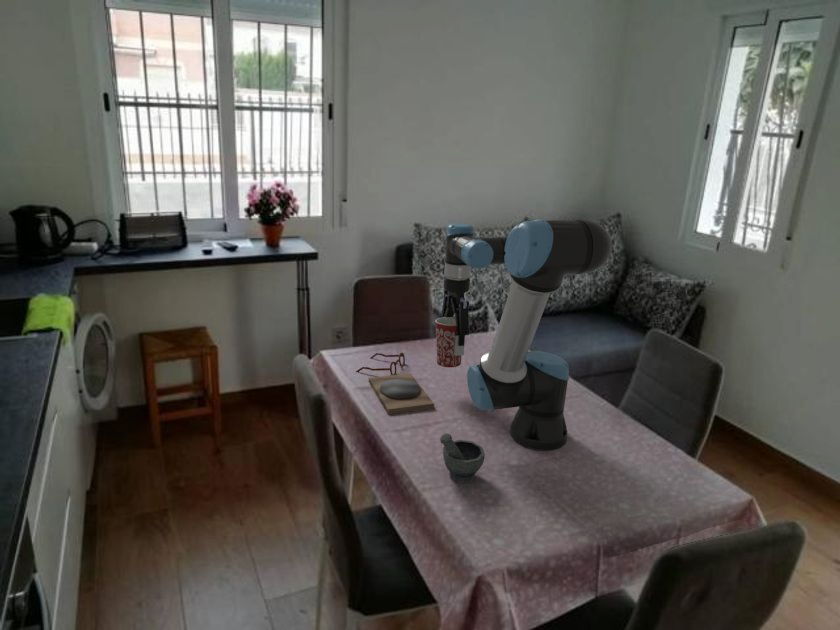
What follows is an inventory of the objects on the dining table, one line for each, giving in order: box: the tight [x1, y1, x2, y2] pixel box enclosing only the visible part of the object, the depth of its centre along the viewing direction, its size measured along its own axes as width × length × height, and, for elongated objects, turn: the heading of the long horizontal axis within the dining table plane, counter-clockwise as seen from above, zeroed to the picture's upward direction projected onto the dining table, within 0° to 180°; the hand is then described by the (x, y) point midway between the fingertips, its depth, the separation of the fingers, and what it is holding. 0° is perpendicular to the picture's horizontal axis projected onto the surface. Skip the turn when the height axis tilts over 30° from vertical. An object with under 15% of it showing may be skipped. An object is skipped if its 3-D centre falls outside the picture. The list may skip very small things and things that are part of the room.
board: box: [368, 372, 435, 415], centre depth 183 cm, size 22×14×2 cm, turn 19°
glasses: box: [356, 352, 406, 375], centre depth 202 cm, size 13×13×5 cm
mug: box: [435, 316, 463, 368], centre depth 183 cm, size 13×9×14 cm
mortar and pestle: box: [439, 433, 486, 484], centre depth 142 cm, size 11×9×12 cm
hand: (453, 349), depth 183 cm, fingers closed on mug, 9 cm apart
